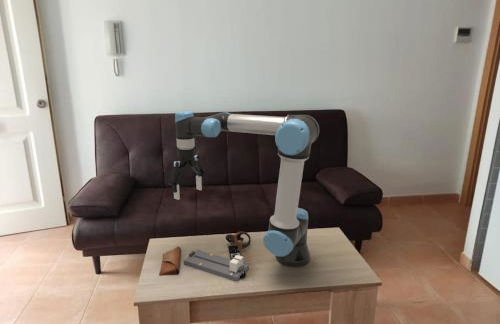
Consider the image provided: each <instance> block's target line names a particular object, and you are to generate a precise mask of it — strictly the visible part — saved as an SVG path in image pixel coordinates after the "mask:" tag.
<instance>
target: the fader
mask: <svg viewBox="0 0 500 324" xmlns="http://www.w3.org/2000/svg"><path fill="white" fill-rule="evenodd" d="M243 263H244V256H242V255H240V254H239V255H238V254H236V255H235V256H234V257H233V258H232V259H231V261H230V271H233V272H237V271H238V270H239V268H240V267H241V266H243Z"/></svg>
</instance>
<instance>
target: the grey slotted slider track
mask: <svg viewBox="0 0 500 324" xmlns="http://www.w3.org/2000/svg"><path fill="white" fill-rule="evenodd" d="M231 260H232V259H231V258H227V257H224V256H220V255H217V254H214V253H210V252H207V251H203V250H200V249H196V250H192V251H190V253H188V256H187V257H186V258H185V259H183V265H185V266H188V267H190V268H193V269H198V270H199V271H203V272H206V273H209V274H212V275H215V276H218V277H221V278H224V279H227V280H230V281H233V282H236V283H237V282H238V281H239V280H240V279H241V278H240V276H241V274H242V273H243V272H244V271H245V273H247V272H248V270H249V269H250V268H249V267H250V266H249V264H246V263H244V262H243V266H241V267H240V268H239V270H238V271H237V272H233V271H230V261H231Z"/></svg>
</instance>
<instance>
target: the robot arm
mask: <svg viewBox="0 0 500 324" xmlns="http://www.w3.org/2000/svg"><path fill="white" fill-rule="evenodd" d="M174 117H175V118H174V120H175V121H174V125H175V133H176V136H175V137H176V138H175V139H176V147H177V148H176V152H177V153H176V155H177V158H178V161H175V160H174V161H173V162H172V168H171V170H170V174H169V178H168V180H167V185H170V186H172V187H171V189H172V193H173V199H175V200H178V201H179V200H180V199H181V197H180V185H179V182H180V180H181V178H182V176H183V174H184V172H186V170H188V169H192V170H193V171H194V173H195V174H196V175H195V184H196V185H195V187H196V190H199V191H203V190H202V189H203V184H202V183H203V177H204V176H205V174H206V170H205V168H204V165H203V163H202V161H201V156H200V155H197V154H196V148H195V147H196V145H195V141H196V140H195V136H198V137H206V138H216V137H218V136H219V134H220V133H221V132H232V133H234V132H235V133H244V134H245V133H248V134H257V135H266V136H267V135H269V136H274V137H275V138H274V139H275V145H276V147H277V155H278V156H279V158H280V167H279V173H278V182H277V188H276V196H275V197H276V198H275V205H274V213H273V215H271V216H270V218H269V221H268V222H269V223H268V230H267V231H266V232H265V234H264V236H263V246H264V247H265V249H266V250H267V252H269V254H272V255H273V256H275V260H276V261H277V263H280V264H281V265H283V266H287V267H292V268H294V267H295V268H297V267H298V268H299V267H303V266H305V265H308V263H309V262H310V260H311V252H310V249H309V246H308V231H309V229H308V228H309V226H308V225H309V220H310V219H309V213H308V211H307V210H305V209H304V208H300V207H299V200H300V195H301V187H302V180H303V173H304V166H305V161H307V160H308V159H309V158H310V155H311V148H312V144H313V143H314V142H316V141H317V139H318V137H319V134H320V125H319V123H318V121H317V120H316V119H315V118H314V117H313V116H311V115H309V114H287V116H271V115H270V116H269V115H256V114H255V115H254V114H237V113H235V114H234V113H230V112H228V111H223V112H218V113H217V114H213V115H209V116H206V117H205V116H204V117H198V116H195V115H194V112H193V111H191V110H178V111H176V112H175V114H174Z"/></svg>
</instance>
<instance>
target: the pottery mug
mask: <svg viewBox="0 0 500 324" xmlns="http://www.w3.org/2000/svg"><path fill="white" fill-rule="evenodd" d="M242 235H244V236H247V238H248V241H247V242H245V243H241V242H244V240H245V238H244V237H242ZM224 237H225V240H226V242H228V243H229V244H230V246H232V244H235V245H236V246H237V249H236V251H238V250H240V251H239V252H241V251H243V250H244V251H245V249H248V248H249V247H250V245H251V243H252V240H251V239H252V238H251V236H250V234H249V233H248V232H246V231H238V232H236V233H235V234H227V235H225V236H224Z"/></svg>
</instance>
